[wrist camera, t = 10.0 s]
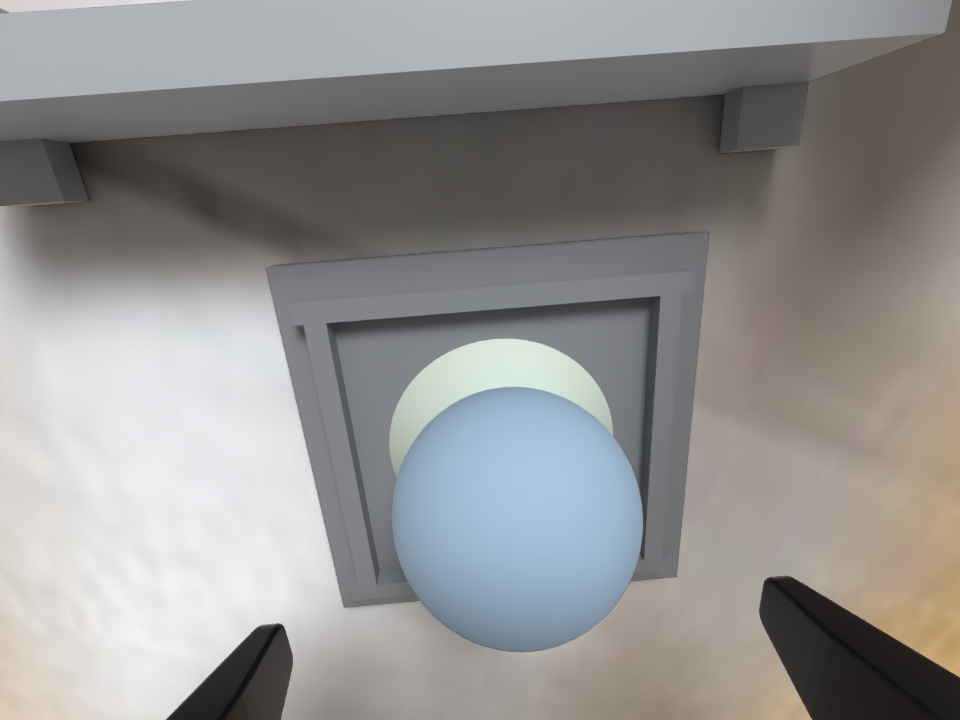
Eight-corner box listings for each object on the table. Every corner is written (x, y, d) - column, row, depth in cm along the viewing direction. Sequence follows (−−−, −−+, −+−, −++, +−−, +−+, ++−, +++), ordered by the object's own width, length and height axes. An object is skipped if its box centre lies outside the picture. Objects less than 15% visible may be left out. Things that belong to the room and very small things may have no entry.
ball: (598, 346, 13) (711, 454, 7) (595, 515, 15) (682, 704, 9) (392, 364, 13) (343, 490, 7) (417, 533, 15) (395, 737, 9)
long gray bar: (802, -34, 11) (990, -166, 7) (777, 148, 12) (924, 122, 8) (-43, 25, 10) (-333, -80, 7) (27, 206, 12) (-180, 206, 8)
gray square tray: (697, 231, 13) (721, 233, 11) (669, 564, 17) (684, 590, 15) (274, 264, 12) (255, 270, 11) (347, 593, 16) (339, 622, 15)
